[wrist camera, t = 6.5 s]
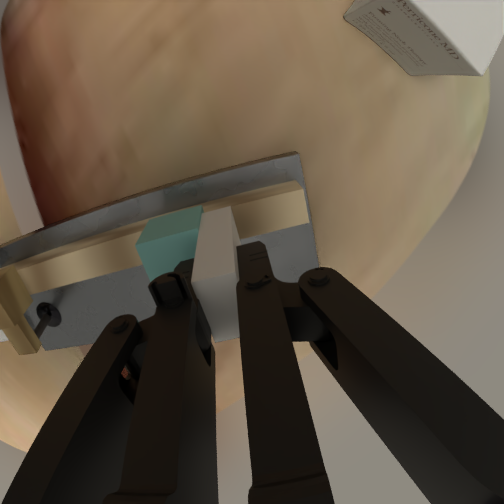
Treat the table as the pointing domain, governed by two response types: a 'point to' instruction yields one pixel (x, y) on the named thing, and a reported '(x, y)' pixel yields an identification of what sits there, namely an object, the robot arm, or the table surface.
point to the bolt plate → (136, 279)
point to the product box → (433, 33)
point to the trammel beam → (127, 255)
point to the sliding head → (169, 241)
